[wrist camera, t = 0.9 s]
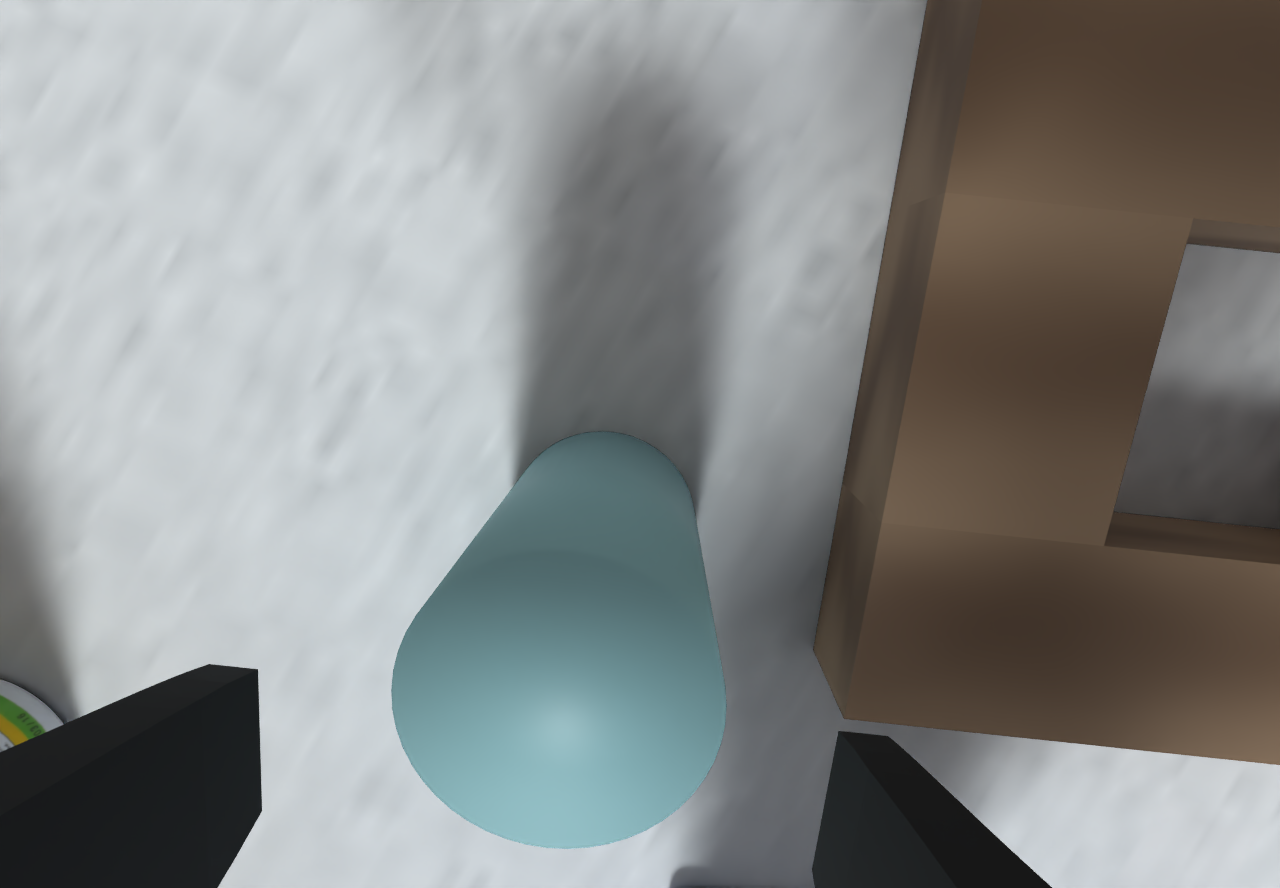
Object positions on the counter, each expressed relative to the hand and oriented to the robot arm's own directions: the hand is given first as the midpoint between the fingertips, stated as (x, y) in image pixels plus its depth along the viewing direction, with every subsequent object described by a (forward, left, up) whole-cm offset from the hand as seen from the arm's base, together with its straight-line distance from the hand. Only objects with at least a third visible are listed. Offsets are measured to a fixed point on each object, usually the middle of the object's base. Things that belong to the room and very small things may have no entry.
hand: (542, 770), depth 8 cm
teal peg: (0, 0, -9) cm, 9 cm away
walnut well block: (+5, -14, -9) cm, 18 cm away
